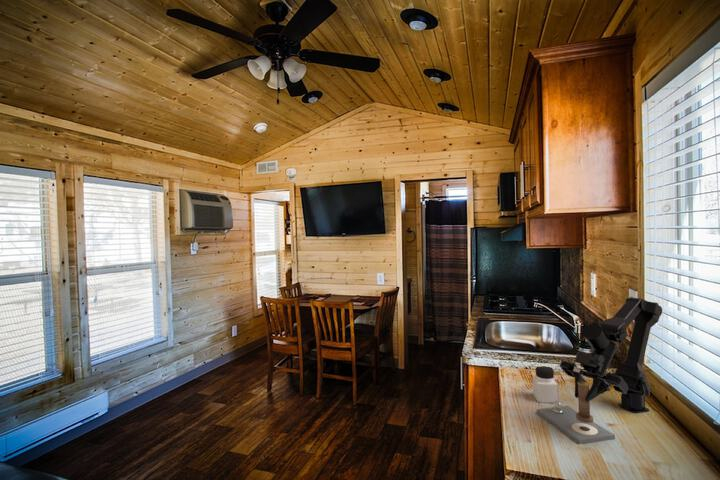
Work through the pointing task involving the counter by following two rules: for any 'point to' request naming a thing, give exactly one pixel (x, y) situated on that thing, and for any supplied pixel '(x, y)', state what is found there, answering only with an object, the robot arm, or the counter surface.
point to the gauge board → (575, 426)
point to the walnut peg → (583, 403)
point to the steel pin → (557, 407)
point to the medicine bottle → (545, 385)
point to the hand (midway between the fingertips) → (581, 399)
